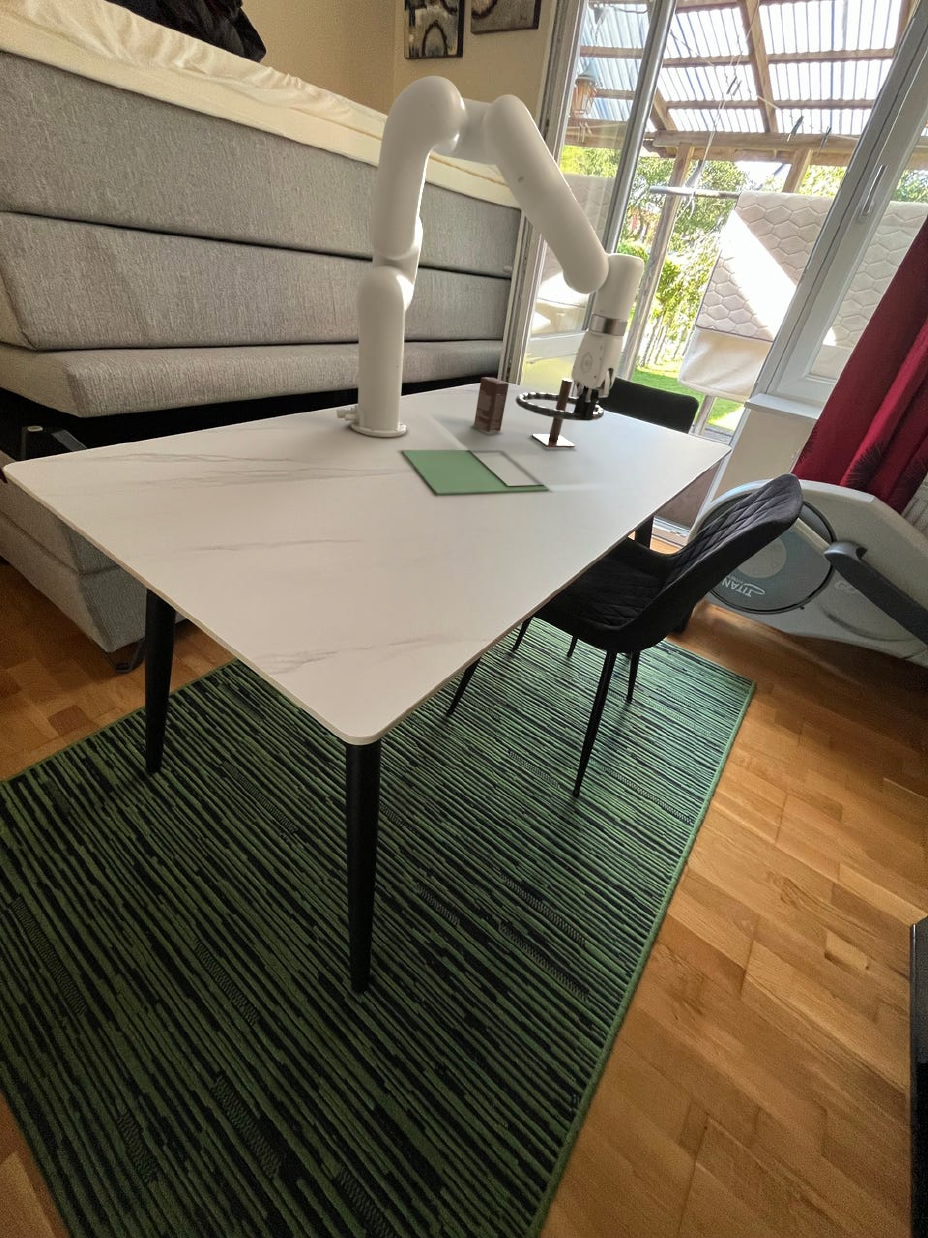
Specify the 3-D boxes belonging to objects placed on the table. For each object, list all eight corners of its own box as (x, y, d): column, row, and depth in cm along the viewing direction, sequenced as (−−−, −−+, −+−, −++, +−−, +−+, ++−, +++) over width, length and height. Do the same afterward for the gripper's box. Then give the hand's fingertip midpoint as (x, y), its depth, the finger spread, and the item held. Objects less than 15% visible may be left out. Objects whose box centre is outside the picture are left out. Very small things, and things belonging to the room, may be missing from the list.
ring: (543, 420, 113) (544, 412, 112) (500, 397, 128) (501, 390, 127) (620, 422, 121) (622, 415, 120) (571, 400, 136) (572, 393, 136)
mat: (437, 495, 95) (437, 493, 94) (401, 451, 110) (401, 450, 110) (548, 490, 104) (548, 489, 104) (500, 451, 120) (501, 449, 119)
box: (500, 433, 131) (509, 383, 124) (487, 435, 128) (496, 383, 121) (485, 426, 134) (493, 376, 127) (472, 427, 132) (479, 376, 125)
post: (546, 450, 125) (562, 383, 116) (530, 438, 131) (544, 374, 122) (573, 450, 128) (590, 385, 119) (557, 439, 134) (572, 376, 125)
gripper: (572, 318, 110) (550, 407, 121) (615, 333, 99) (587, 429, 110) (600, 322, 113) (576, 408, 124) (645, 336, 102) (615, 430, 113)
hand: (581, 417), depth 117 cm, fingers closed on ring, 1 cm apart
